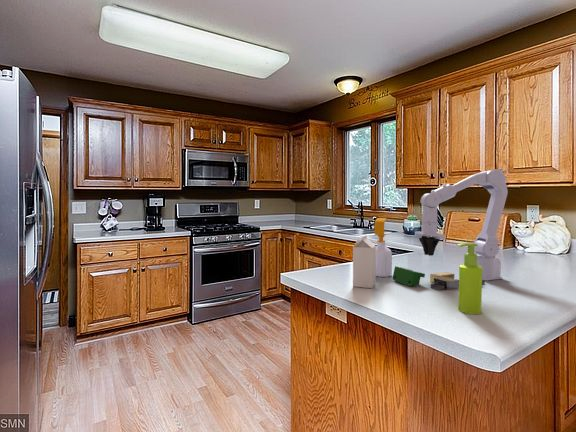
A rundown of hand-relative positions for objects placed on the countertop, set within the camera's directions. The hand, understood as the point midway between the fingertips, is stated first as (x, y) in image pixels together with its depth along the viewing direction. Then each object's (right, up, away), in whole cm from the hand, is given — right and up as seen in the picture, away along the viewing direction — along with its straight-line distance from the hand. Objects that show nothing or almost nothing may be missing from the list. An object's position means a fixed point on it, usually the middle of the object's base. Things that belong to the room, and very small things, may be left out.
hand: (429, 255), depth 139 cm
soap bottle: (-18, -10, +6) cm, 21 cm away
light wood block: (+3, -10, -6) cm, 12 cm away
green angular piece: (-12, -10, -8) cm, 18 cm away
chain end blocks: (+5, -10, -12) cm, 17 cm away
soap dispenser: (-6, -12, -41) cm, 43 cm away
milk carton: (-30, -11, -12) cm, 33 cm away
